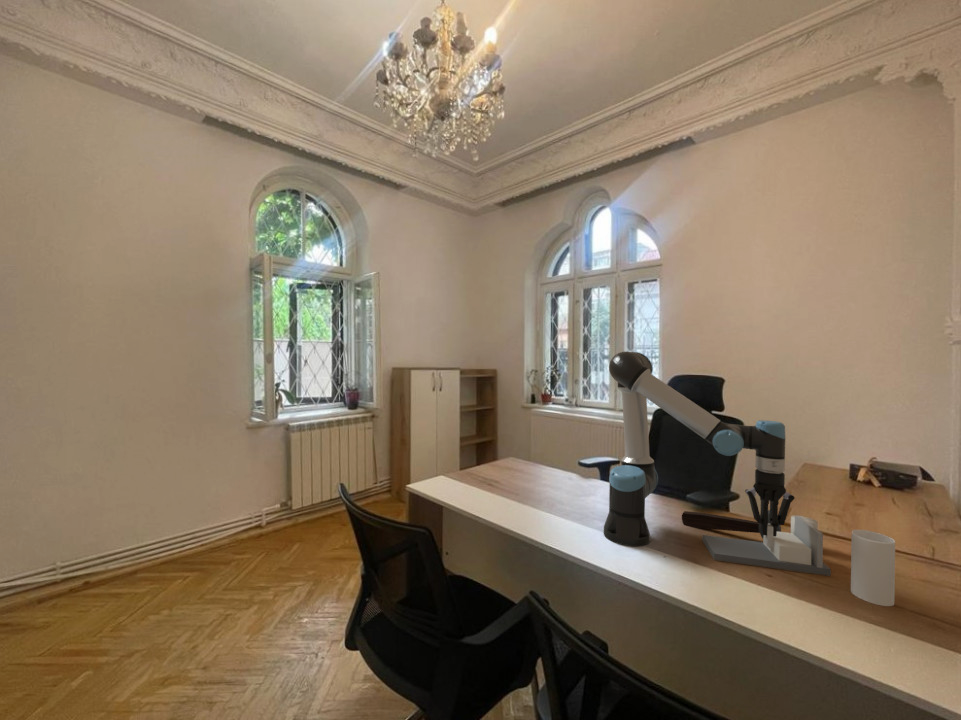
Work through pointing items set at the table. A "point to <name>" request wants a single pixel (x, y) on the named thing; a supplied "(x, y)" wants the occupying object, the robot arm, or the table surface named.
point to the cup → (873, 567)
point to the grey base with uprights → (764, 557)
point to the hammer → (722, 522)
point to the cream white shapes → (811, 521)
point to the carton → (790, 549)
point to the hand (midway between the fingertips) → (768, 545)
